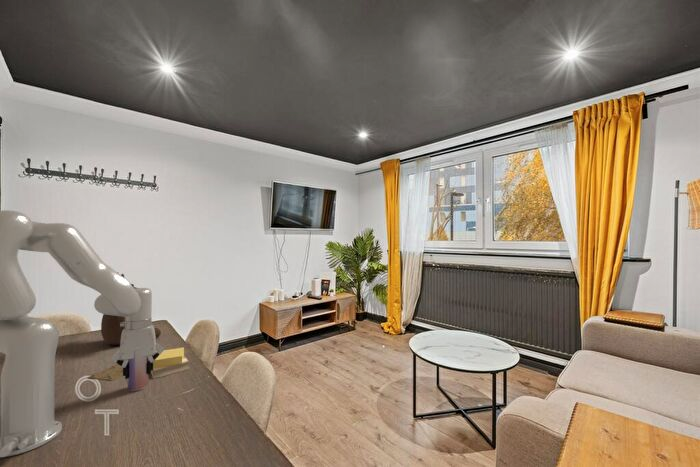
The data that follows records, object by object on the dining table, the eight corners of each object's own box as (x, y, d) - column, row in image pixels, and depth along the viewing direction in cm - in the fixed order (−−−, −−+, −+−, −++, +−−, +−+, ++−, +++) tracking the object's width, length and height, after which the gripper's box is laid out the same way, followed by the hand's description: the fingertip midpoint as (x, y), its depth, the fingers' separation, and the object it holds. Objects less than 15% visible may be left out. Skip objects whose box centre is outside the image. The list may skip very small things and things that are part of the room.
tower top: (182, 363, 117) (182, 355, 117) (151, 368, 112) (151, 360, 112) (183, 354, 126) (183, 347, 126) (155, 358, 121) (156, 351, 121)
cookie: (112, 382, 109) (112, 379, 109) (86, 379, 111) (86, 376, 111) (141, 368, 120) (141, 365, 120) (117, 365, 123) (117, 363, 123)
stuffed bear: (166, 341, 151) (167, 272, 151) (109, 354, 133) (111, 276, 134) (147, 329, 169) (148, 268, 170) (95, 339, 152) (97, 271, 153)
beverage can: (124, 393, 100) (124, 348, 101) (132, 384, 106) (132, 342, 106) (144, 390, 102) (144, 347, 102) (151, 382, 108) (151, 341, 108)
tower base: (188, 369, 118) (188, 361, 118) (153, 378, 111) (153, 370, 111) (182, 359, 127) (182, 352, 127) (148, 367, 120) (148, 360, 120)
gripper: (105, 330, 97) (104, 386, 96) (167, 322, 105) (167, 373, 105) (109, 324, 103) (109, 376, 103) (167, 317, 112) (167, 365, 112)
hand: (138, 374), depth 104 cm, fingers closed on beverage can, 5 cm apart
